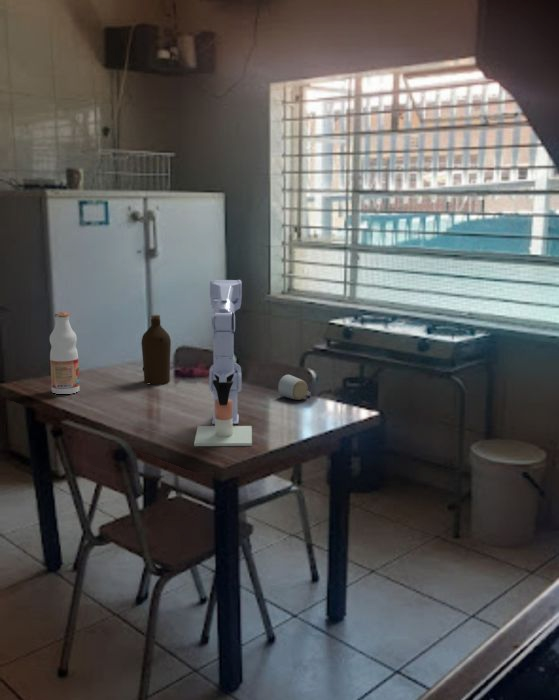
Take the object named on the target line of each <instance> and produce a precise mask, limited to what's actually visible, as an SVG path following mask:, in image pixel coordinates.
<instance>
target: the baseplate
mask: <svg viewBox="0 0 559 700" xmlns="http://www.w3.org/2000/svg"><path fill="white" fill-rule="evenodd" d="M252 427H253V426H252V425H233V435H232V436H229V437H219V436H216V435H215V425H197V429H196V432H195V437H194V442H193V446H194V447H252V446H253V435H252V434H253V433H252V432H253V431H252V430H253V428H252Z"/></svg>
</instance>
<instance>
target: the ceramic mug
mask: <svg viewBox="0 0 559 700" xmlns="http://www.w3.org/2000/svg"><path fill="white" fill-rule="evenodd" d="M277 387H278V388H277V389H278V392H279V394H280V396H281V397H285V398H288V399H292V400H294V401H301V400H303V399H304V398H306V396H307V397H310V396H311V392H310V391H309V387H308V384H307V382H306V381H305V380H303V379H301V378H298V377H296V376H294V375H291V374H285V375H283V376H282V377H281V378H280V380H279V382H278V386H277Z"/></svg>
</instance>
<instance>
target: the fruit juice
mask: <svg viewBox="0 0 559 700" xmlns="http://www.w3.org/2000/svg"><path fill="white" fill-rule="evenodd" d="M70 315H71V314H70V312H65V311H64V312H62V311H61V312H55V314H54V318H55V324H54V328H53V329H52V332H51V333H50V335H49V343H50V346H51V348H50V351H49V361H50V362H49V363H50V377H51V378H50V380H51V392H52V394H53V393H56V394H71V393H75V394H77V393H76V392H78V391H79V392H80V372H79V371H80V368H79V365H80V364H79V352H78V351H79V350H78V349H77V343H78V337H77V334H76V332H75V331H74V330H73V329H72V325H71V323H70V320H69V319H70V317H71V316H70ZM79 392H78V393H79ZM56 394H55V395H56ZM71 395H72V394H71Z"/></svg>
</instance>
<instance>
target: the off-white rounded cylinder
mask: <svg viewBox="0 0 559 700" xmlns="http://www.w3.org/2000/svg"><path fill="white" fill-rule="evenodd" d="M214 426H215V435H216V436H219V437H229V436H232V435H233V426H234V424H233V418H232V419H229V420H218V419H216V418H215V424H214Z"/></svg>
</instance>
